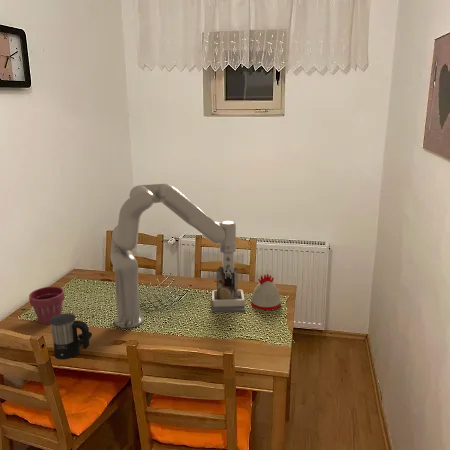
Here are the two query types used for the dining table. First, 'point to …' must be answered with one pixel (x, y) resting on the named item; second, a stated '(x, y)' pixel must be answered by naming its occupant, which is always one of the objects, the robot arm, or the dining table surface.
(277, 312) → the dining table surface
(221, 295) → the coffee box
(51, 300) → the plant pot
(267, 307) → the grey red beanie hat
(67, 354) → the milk frother
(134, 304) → the robot arm
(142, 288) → the dining table surface
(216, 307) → the dock
